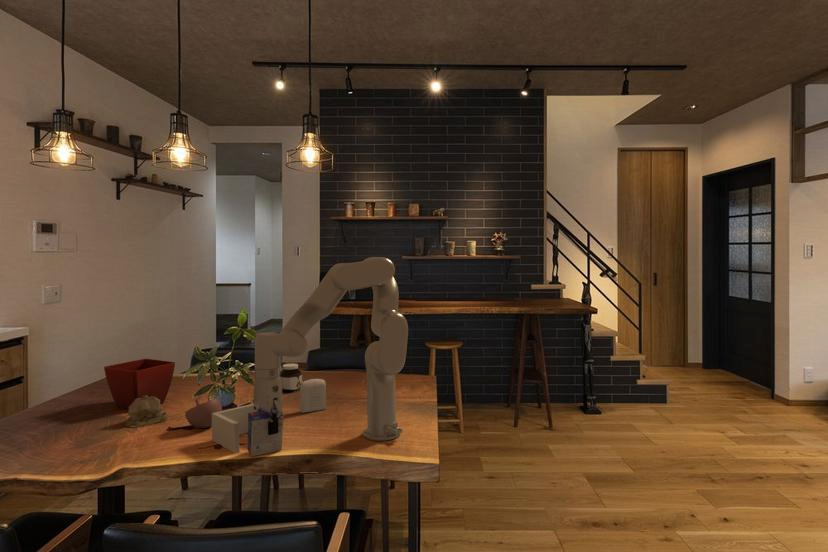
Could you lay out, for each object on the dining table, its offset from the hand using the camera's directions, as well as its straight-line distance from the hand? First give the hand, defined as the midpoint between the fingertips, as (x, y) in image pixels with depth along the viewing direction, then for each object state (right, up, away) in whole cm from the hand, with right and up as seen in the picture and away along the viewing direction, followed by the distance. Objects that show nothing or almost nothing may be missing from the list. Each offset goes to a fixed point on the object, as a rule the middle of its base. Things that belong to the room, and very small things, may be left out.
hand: (266, 430), depth 153 cm
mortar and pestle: (-29, -7, +25) cm, 39 cm away
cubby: (-10, -7, +11) cm, 17 cm away
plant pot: (-67, -6, +53) cm, 86 cm away
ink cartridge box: (-1, -7, +2) cm, 7 cm away
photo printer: (+6, -6, +43) cm, 44 cm away
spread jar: (-12, -5, +76) cm, 77 cm away
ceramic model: (-54, -7, +31) cm, 62 cm away
